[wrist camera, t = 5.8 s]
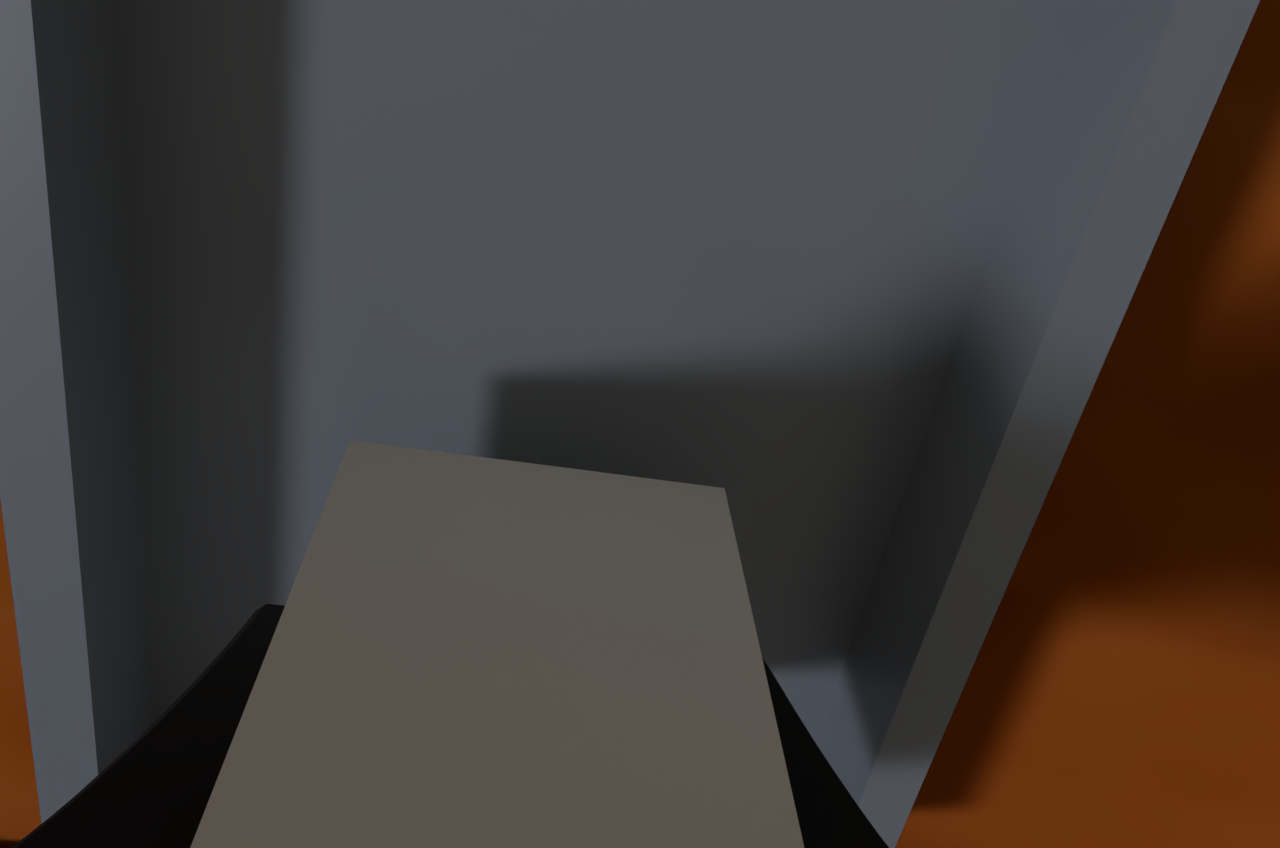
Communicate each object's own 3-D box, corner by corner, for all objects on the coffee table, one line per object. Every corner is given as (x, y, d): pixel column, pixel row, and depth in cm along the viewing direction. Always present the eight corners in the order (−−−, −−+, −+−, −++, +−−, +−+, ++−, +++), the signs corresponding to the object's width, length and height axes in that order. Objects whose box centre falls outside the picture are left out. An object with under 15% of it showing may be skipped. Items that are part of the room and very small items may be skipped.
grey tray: (807, 817, 19) (842, 969, 17) (130, 756, 18) (53, 913, 15) (1199, -254, 12) (1382, -284, 9) (45, -528, 10) (-147, -662, 7)
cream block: (656, 752, 15) (696, 1244, 10) (334, 721, 14) (191, 1227, 9) (724, 487, 13) (822, 932, 8) (349, 440, 12) (175, 885, 7)
